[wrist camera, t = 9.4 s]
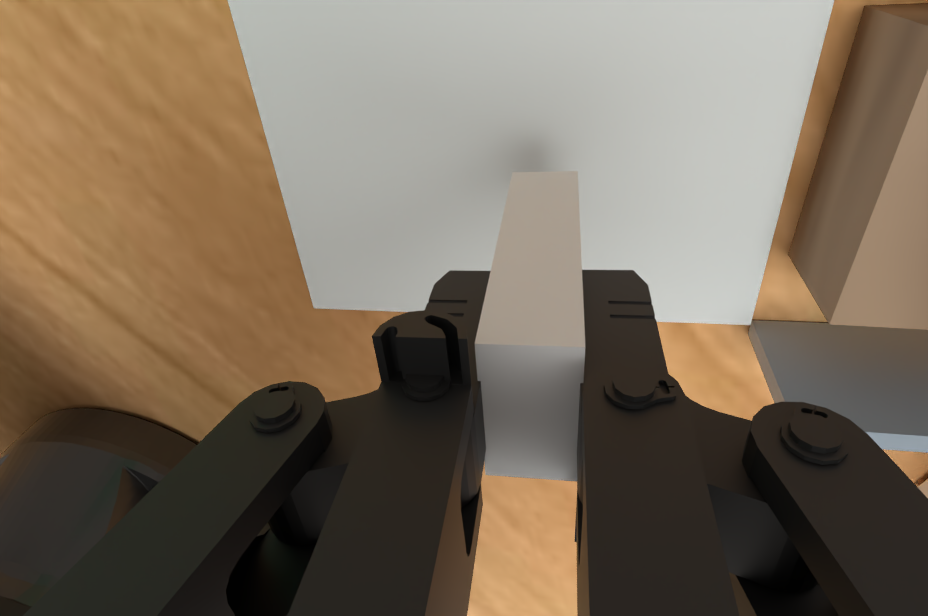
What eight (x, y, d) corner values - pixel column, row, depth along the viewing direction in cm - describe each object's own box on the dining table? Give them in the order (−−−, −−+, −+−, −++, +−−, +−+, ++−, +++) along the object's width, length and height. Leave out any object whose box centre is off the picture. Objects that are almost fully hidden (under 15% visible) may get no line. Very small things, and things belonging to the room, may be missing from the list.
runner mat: (316, 303, 22) (313, 308, 22) (218, -52, 16) (212, -52, 15) (748, 319, 19) (750, 325, 19) (858, -116, 12) (864, -116, 12)
